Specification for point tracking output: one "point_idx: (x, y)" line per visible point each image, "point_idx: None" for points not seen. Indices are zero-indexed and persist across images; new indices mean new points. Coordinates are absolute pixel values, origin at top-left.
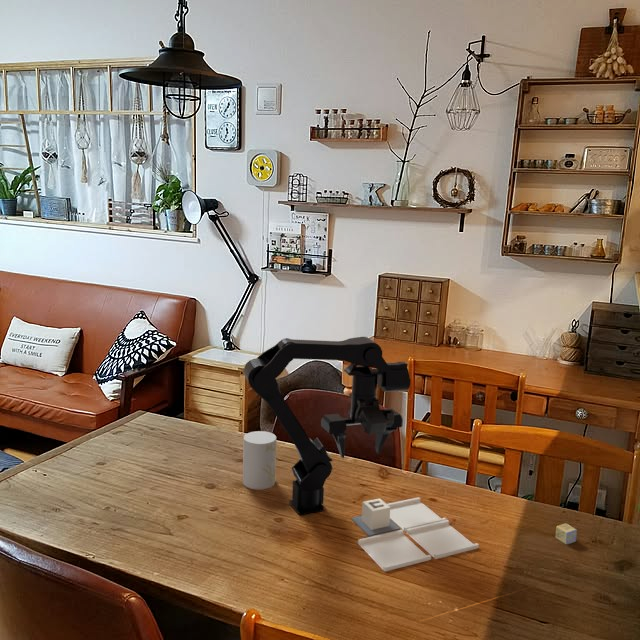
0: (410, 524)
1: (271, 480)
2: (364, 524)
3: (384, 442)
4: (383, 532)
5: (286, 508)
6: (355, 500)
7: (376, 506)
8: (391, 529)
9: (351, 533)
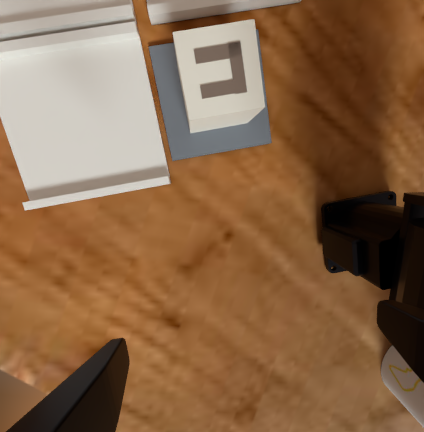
0: (106, 67)
1: None
2: None
3: (9, 429)
4: None
5: None
6: (221, 243)
7: (227, 51)
8: None
9: (295, 67)
